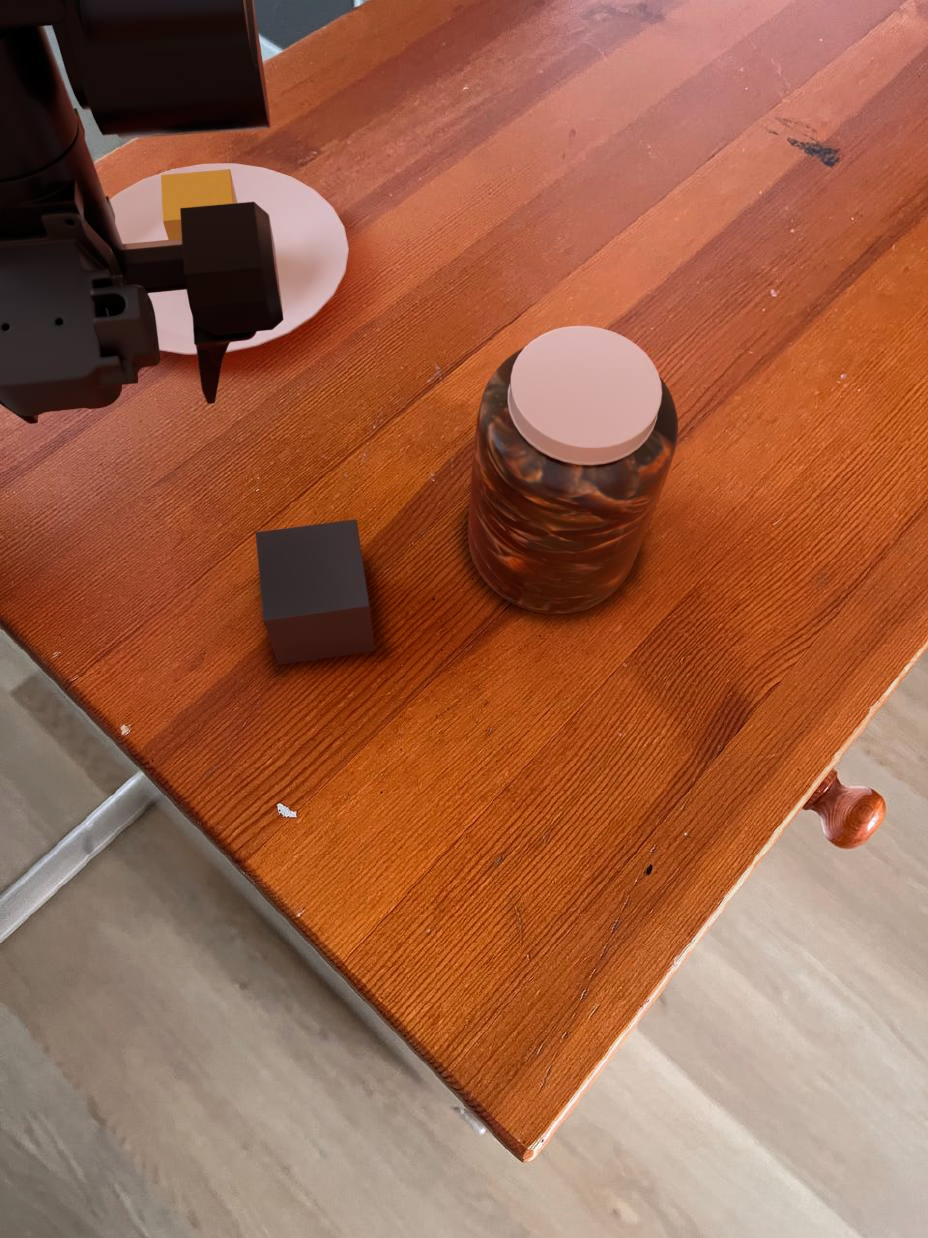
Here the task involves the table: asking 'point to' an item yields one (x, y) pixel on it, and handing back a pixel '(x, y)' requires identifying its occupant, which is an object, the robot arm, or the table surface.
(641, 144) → the table surface
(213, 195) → the top block
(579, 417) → the jar
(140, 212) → the plate
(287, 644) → the base block
